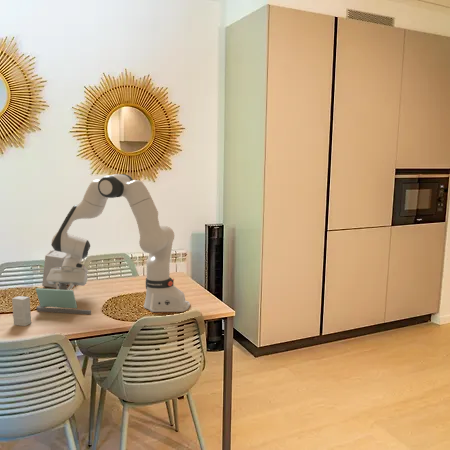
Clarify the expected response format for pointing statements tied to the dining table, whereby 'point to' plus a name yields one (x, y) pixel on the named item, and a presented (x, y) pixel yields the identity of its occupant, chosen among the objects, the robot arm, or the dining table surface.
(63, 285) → the plug
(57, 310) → the grey flat board
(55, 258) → the electrical switch box
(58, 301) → the cover
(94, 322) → the dining table surface
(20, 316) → the skincare box
